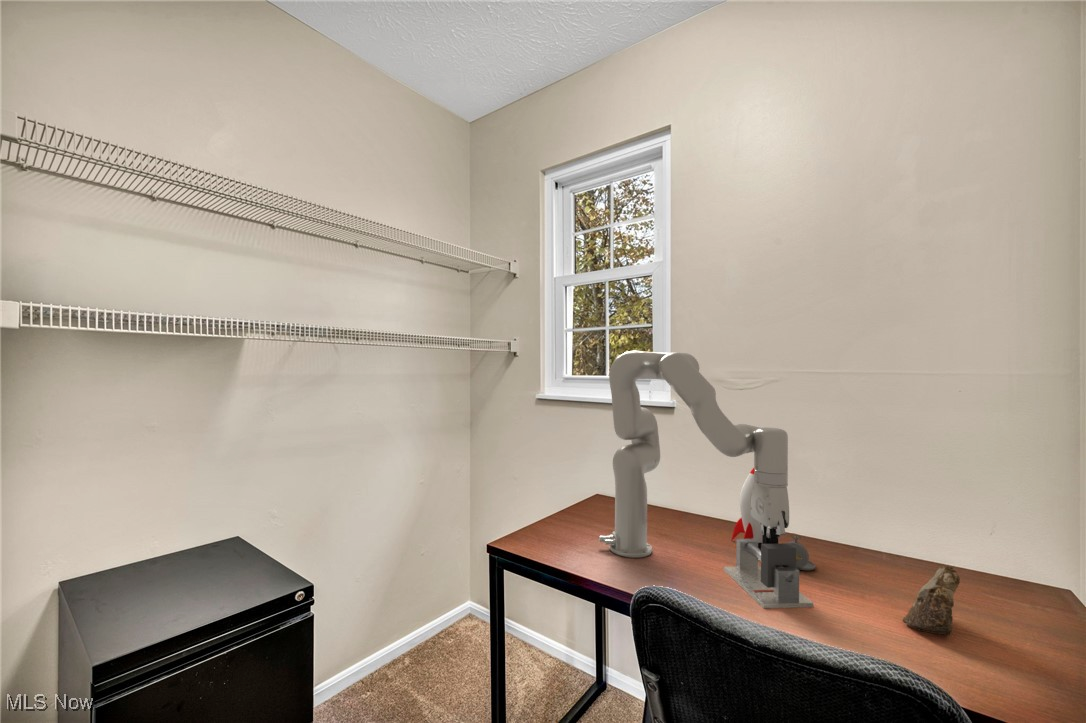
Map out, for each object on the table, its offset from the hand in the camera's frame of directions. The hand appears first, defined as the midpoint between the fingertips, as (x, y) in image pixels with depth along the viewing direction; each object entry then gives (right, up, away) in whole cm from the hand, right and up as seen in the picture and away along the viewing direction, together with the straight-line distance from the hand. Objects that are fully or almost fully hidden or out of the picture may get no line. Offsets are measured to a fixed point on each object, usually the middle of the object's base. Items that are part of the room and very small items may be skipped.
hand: (770, 551), depth 116 cm
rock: (+27, -10, -15) cm, 33 cm away
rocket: (+9, -10, +28) cm, 31 cm away
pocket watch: (+15, -10, +14) cm, 23 cm away
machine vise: (0, -10, +2) cm, 10 cm away
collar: (0, -6, -4) cm, 7 cm away
